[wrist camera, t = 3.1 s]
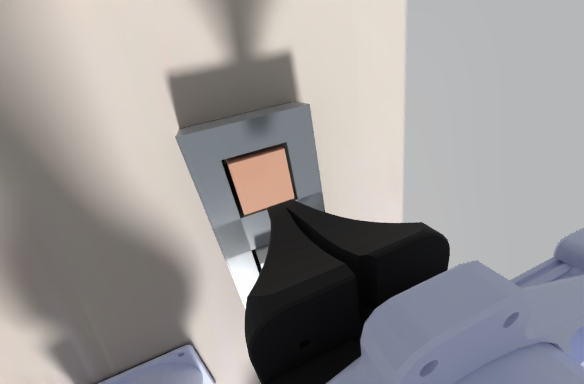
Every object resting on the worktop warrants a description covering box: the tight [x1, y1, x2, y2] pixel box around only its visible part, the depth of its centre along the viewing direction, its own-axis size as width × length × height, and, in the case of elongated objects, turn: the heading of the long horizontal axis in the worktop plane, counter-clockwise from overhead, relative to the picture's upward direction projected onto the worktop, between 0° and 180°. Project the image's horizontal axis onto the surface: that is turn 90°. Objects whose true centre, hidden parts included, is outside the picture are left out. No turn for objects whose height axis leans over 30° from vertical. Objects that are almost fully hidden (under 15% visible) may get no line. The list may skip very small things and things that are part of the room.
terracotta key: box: [226, 144, 294, 215], centre depth 17 cm, size 4×4×3 cm
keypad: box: [175, 102, 325, 310], centre depth 20 cm, size 8×22×3 cm, turn 11°
